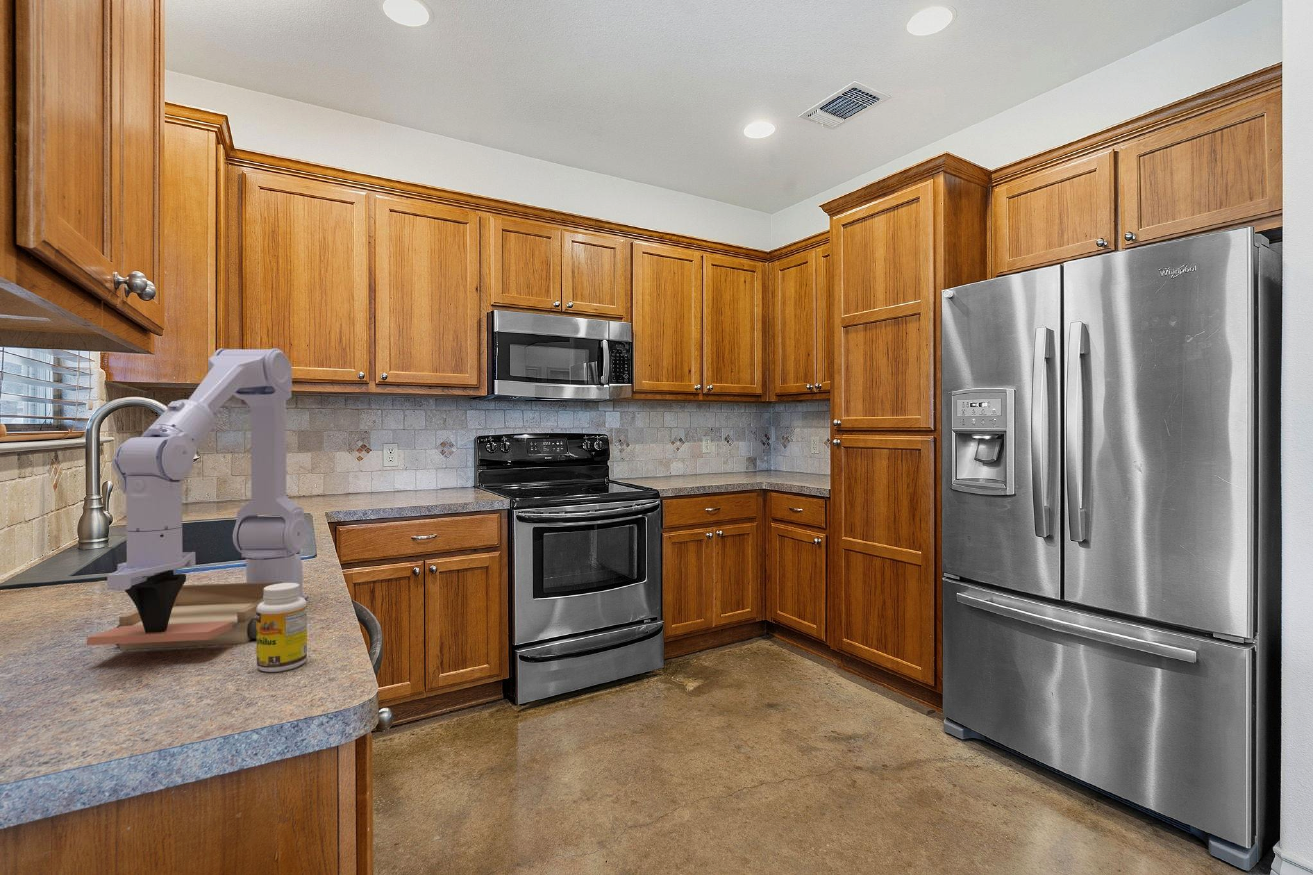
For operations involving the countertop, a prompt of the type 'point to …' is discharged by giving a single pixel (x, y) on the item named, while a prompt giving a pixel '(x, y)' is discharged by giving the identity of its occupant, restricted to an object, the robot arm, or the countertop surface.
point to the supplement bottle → (281, 628)
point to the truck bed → (210, 613)
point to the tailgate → (161, 633)
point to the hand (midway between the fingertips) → (155, 632)
